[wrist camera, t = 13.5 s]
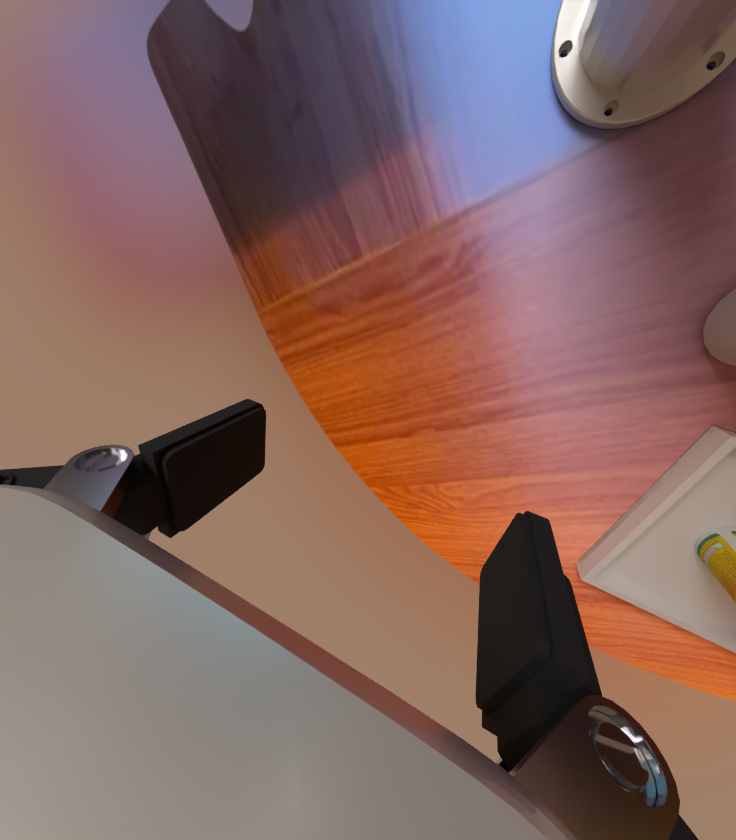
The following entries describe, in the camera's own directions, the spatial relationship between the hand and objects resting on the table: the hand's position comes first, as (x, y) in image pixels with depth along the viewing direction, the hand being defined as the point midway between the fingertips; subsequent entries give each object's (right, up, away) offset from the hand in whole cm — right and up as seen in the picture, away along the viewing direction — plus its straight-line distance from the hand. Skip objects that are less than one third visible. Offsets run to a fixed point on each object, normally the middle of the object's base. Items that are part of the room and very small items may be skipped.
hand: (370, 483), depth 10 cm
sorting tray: (+38, -11, +20) cm, 45 cm away
